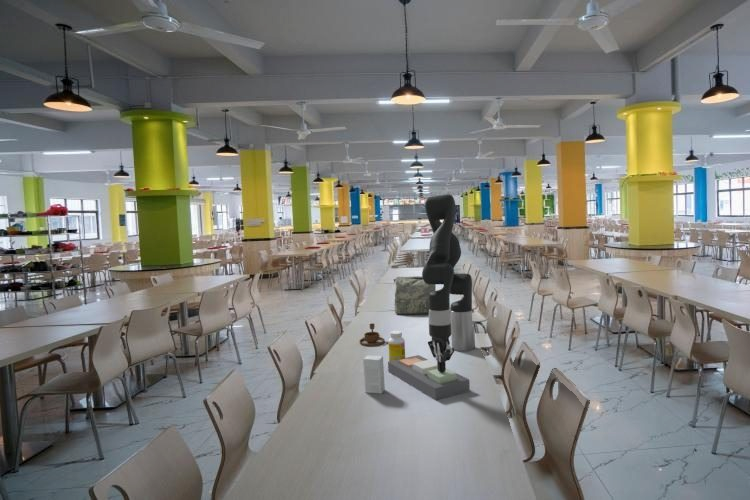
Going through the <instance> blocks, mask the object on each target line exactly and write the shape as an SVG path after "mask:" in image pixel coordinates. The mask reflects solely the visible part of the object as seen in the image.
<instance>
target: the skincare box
mask: <svg viewBox="0 0 750 500" xmlns="http://www.w3.org/2000/svg"><path fill="white" fill-rule="evenodd" d="M363 376H364V377H363V378H364V391H365V393H367V394H369V393H370V394H382V393H383V392H384V391H385V389H386V387H385V385H386V384H385V370H384V356H382V355H366V356H365V357H364V358H363Z"/></svg>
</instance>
